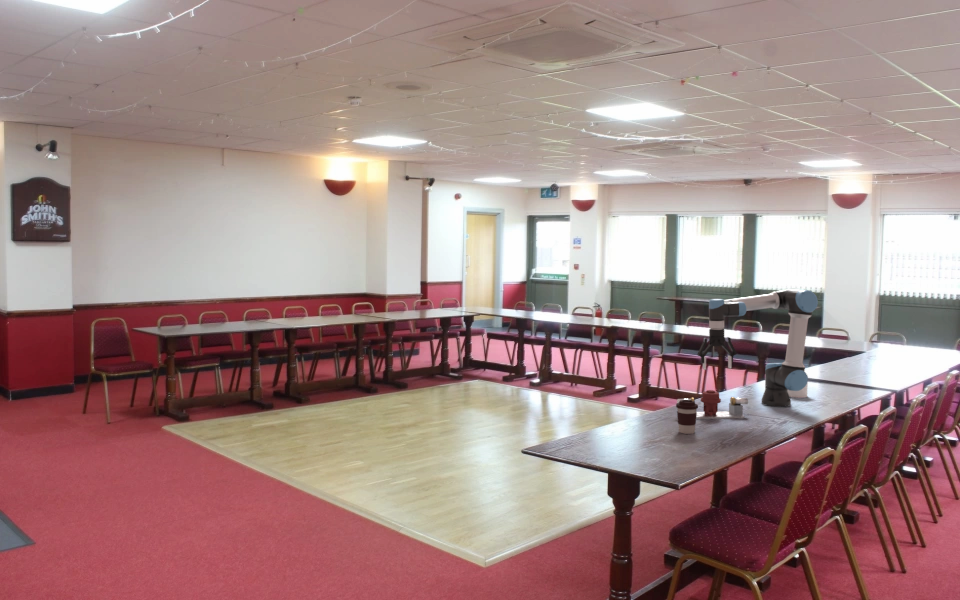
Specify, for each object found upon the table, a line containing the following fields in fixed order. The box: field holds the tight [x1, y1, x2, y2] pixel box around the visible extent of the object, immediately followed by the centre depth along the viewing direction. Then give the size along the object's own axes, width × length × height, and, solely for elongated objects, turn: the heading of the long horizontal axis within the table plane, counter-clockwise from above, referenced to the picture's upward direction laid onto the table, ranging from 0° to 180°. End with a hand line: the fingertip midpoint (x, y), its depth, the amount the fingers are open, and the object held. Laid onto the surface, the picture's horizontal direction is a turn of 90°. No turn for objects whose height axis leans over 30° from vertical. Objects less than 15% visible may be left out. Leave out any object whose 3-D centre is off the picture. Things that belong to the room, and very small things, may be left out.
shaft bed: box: [676, 396, 749, 420], centre depth 389 cm, size 36×12×10 cm, turn 92°
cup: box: [788, 381, 809, 399], centre depth 440 cm, size 12×12×12 cm
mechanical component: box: [700, 389, 722, 416], centre depth 389 cm, size 12×10×10 cm
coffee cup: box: [675, 400, 699, 435], centre depth 355 cm, size 10×10×15 cm
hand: (717, 368), depth 395 cm, fingers open, 13 cm apart
